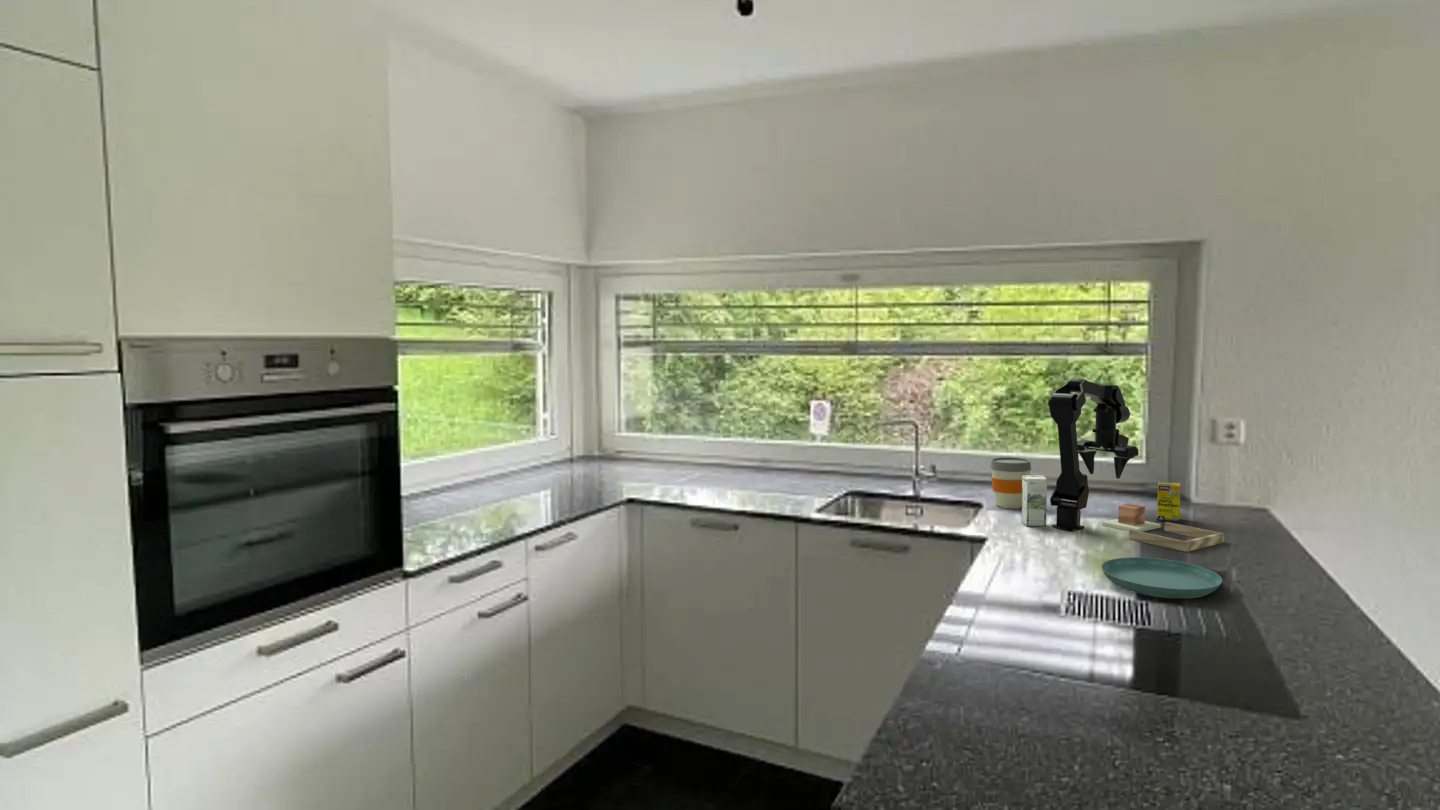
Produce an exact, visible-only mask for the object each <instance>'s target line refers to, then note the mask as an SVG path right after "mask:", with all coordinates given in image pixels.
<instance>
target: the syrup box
mask: <svg viewBox="0 0 1440 810" xmlns="http://www.w3.org/2000/svg"><path fill="white" fill-rule="evenodd" d="M1047 493H1048V479H1047V478H1046V476H1044V475H1041V474H1040V475H1039V474H1038V475H1037V474H1035V475H1033V474H1032V475H1030V474H1029V475H1023V476H1022V508H1021V523H1022V522H1023V523H1024V524H1025V527H1046V526H1047V501H1048V500H1047V497H1048V494H1047ZM1023 523H1022V524H1023Z"/></svg>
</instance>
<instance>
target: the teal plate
mask: <svg viewBox="0 0 1440 810" xmlns="http://www.w3.org/2000/svg"><path fill="white" fill-rule="evenodd" d="M1100 568H1101V570H1102V572H1103V574H1104V575H1105V577H1106V578H1107V579H1108V580H1109V581H1111V582H1112V583H1113V584H1114V585H1115V586H1117V587H1119V588H1121V589H1123V590H1125V589H1126V590H1125V591H1128V590H1129V592H1131V591H1133V592H1132V593H1135V592H1136V593H1135V594H1139V593H1140V594H1139V595H1143V594H1144V596H1148V595H1149V597H1155V598H1162V599H1164V598H1165V599H1175V600H1176V599H1177V600H1178V599H1183V600H1184V599H1196V598H1202V597H1204V596H1209V594H1211V593H1214V592H1215V591H1216V590H1217V589H1218V588H1220V586H1221V585H1222V583H1223V578H1222V577H1221V575H1219V574H1218V573H1217V572H1215V571H1213V570H1210V569H1209V568H1206V567H1202V566H1201V565H1200V566H1199V565H1197V564H1192V563H1188V562H1185V561H1184V562H1183V561H1179V560H1174V559H1173V560H1171V559H1165V558H1159V557H1158V558H1157V557H1156V558H1155V557H1143V556H1142V557H1139V556H1138V557H1135V556H1134V557H1133V556H1131V557H1119V558H1112V559H1108V560H1105V561H1103V562H1102V563H1101V565H1100Z"/></svg>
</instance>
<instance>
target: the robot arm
mask: <svg viewBox="0 0 1440 810" xmlns="http://www.w3.org/2000/svg"><path fill="white" fill-rule="evenodd" d="M1087 397H1090V401H1092V402H1093V403H1095V404H1096V406H1095V407H1094V408H1093V410H1092V411H1093V412H1094V413H1095V421H1094V423H1095V426H1094V427H1095V428H1092V433H1095V434H1094V435H1095V436H1094V440H1089V439H1082V440H1078V433H1077V432H1078V431H1077V421H1078V420H1079V418H1080V416H1081V414H1082V408H1083V407H1084V406H1085V404H1086V402H1087V399H1086V398H1087ZM1047 406H1048V408H1049V413H1050V417H1051V419H1052V420H1053V421H1054V422H1055V423H1056V425H1057V432H1058V433H1057V434H1058V435H1057V436H1058V447H1059V448H1058V449H1059V459H1060V471H1061V472H1060V473H1059V476H1058V477H1057V479H1056V486H1055V488H1054V489H1053V492H1052V494H1051V496H1050V499H1049V502H1050V506H1054V507H1056V523H1054V524H1051V527H1052V528H1056V529H1060V530H1061V529H1062V530H1065V531H1069V532H1070V531H1075V530H1080V529H1085V526H1084V525H1081V510H1083V509H1085V508H1087V505H1088V500H1089V494H1090V490H1089V483H1088V476H1087V474H1086V473H1085V474H1084V473H1082V471H1081V470H1080V459H1079V456H1080V457H1081V459H1082V461H1083V463H1084V464H1085V466H1086V469H1087V470H1088V472H1089V474H1090V475H1094V474H1095V473H1094V471H1095V456H1096V454H1097V452H1098V451H1100V452H1107V453H1113V454H1114V455H1115V456H1113V463H1114V474H1115V478H1116V479H1117V480H1118V479H1120V478H1121V476H1122V474H1123V473H1124V472H1123V471H1124V470H1125V467H1126V465H1127V464H1128V462H1129V461H1130V460H1131V459H1134V458H1135V457H1137V456H1138V457H1139V452H1140V451H1139V448H1138V447H1137V446H1135V445H1129V441H1130V438H1129V437H1128V436H1125V435H1123V434H1120V429H1119V428H1117V424H1121V423H1125V422H1127V421H1128V420H1129V419H1130V417H1131V411H1130V409H1129V407H1127V406H1126V402H1125V398H1124V396H1123V393H1122V390H1121V389H1120V387H1119V385H1118V384H1099V383H1095V382H1093V381H1089V380H1087V379H1086V378H1085V379H1084V378H1070V379H1068V380H1067V381H1066V382H1065V384H1063V385H1061V386H1060V387H1058V388H1056V389H1054V391H1053V392H1052V394H1051V395H1050V397H1049V398H1048V400H1047Z"/></svg>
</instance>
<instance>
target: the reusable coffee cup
mask: <svg viewBox="0 0 1440 810" xmlns="http://www.w3.org/2000/svg"><path fill="white" fill-rule="evenodd" d="M1031 465H1032V464H1031V460H1030V459H1027V458H1021V457H1010V456H1009V457H995V458H991V460H990V469H991V474H992V475H991V479H990V480H991V487H992V492H993V493H994V499H995V500H994V501H995V506H996V505H998V506H1001V507H1000V508H1002V507H1007V508H1006V509H1021V508H1020V507H1022V476H1023V475H1030V472H1031V470H1032V466H1031ZM998 506H997V507H998Z"/></svg>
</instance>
